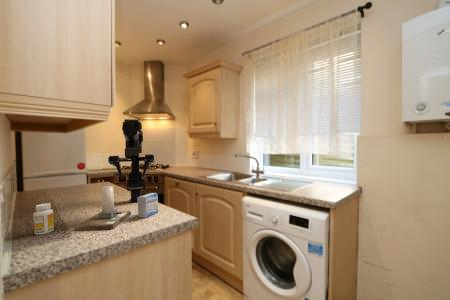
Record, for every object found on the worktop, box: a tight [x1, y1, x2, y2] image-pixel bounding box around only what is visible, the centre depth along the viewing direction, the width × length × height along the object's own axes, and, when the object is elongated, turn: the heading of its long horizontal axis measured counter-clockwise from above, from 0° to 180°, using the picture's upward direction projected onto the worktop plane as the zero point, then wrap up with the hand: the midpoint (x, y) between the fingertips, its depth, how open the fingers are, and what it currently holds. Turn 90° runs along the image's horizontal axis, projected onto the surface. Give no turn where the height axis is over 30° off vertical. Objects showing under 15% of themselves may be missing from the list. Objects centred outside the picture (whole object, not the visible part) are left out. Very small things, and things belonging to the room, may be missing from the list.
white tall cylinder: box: [97, 185, 123, 218], centre depth 86 cm, size 5×8×12 cm, turn 92°
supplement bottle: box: [33, 202, 55, 235], centre depth 76 cm, size 5×5×10 cm
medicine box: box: [137, 192, 159, 219], centre depth 92 cm, size 8×4×9 cm, turn 161°
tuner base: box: [75, 210, 132, 231], centre depth 84 cm, size 16×13×2 cm
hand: (132, 178), depth 95 cm, fingers open, 9 cm apart
